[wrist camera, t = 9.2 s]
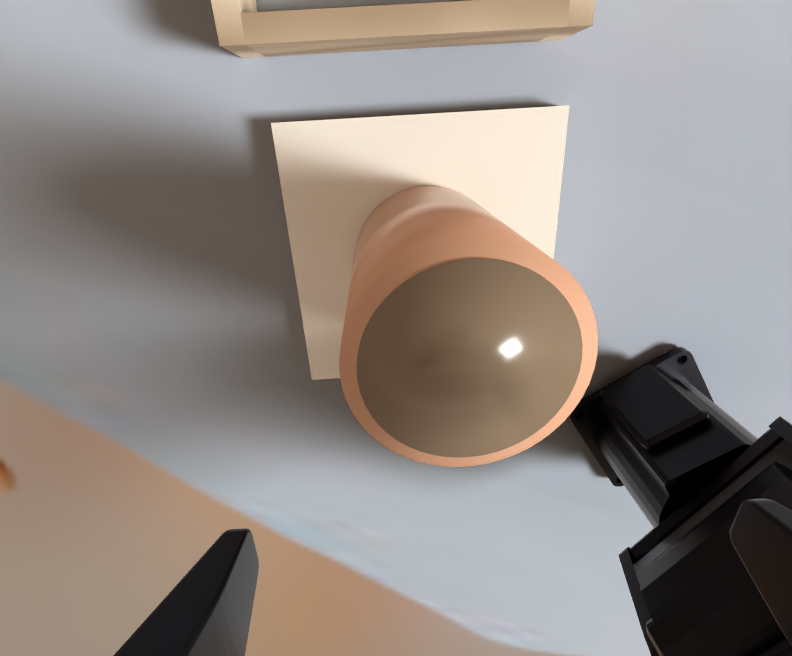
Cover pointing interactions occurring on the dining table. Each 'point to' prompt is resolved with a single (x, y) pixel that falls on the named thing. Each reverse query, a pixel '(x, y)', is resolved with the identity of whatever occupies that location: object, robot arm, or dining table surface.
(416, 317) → the pot
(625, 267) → the dining table surface
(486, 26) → the wooden square frame
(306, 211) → the tile
